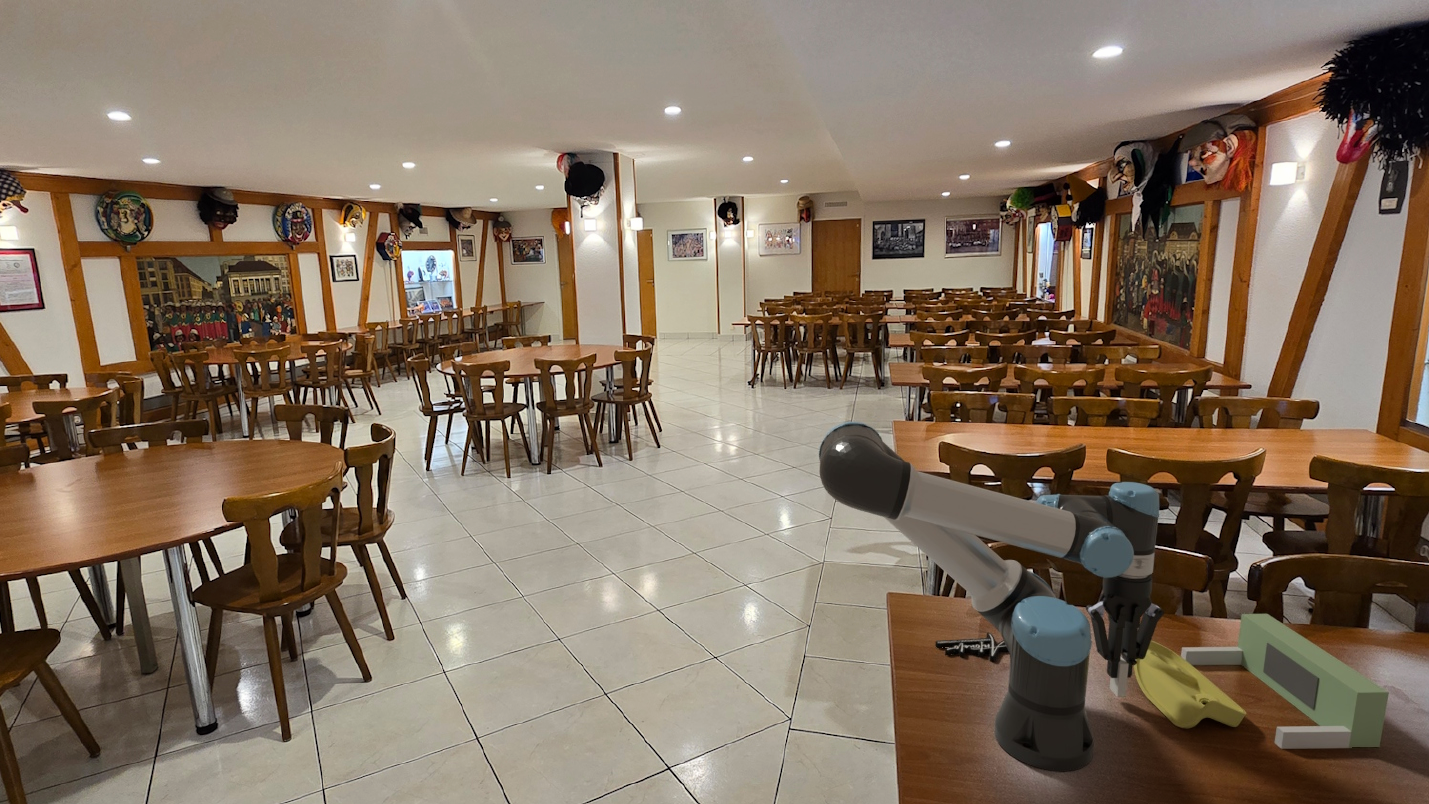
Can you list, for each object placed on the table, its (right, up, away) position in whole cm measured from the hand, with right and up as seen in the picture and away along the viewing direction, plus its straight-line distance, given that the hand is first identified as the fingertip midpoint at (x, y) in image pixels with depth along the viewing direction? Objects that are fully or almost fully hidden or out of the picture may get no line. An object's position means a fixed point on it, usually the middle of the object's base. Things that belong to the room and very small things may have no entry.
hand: (1117, 692), depth 135 cm
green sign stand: (+28, -2, 0) cm, 28 cm away
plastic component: (+12, -2, +1) cm, 12 cm away
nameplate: (-13, +1, +19) cm, 23 cm away
